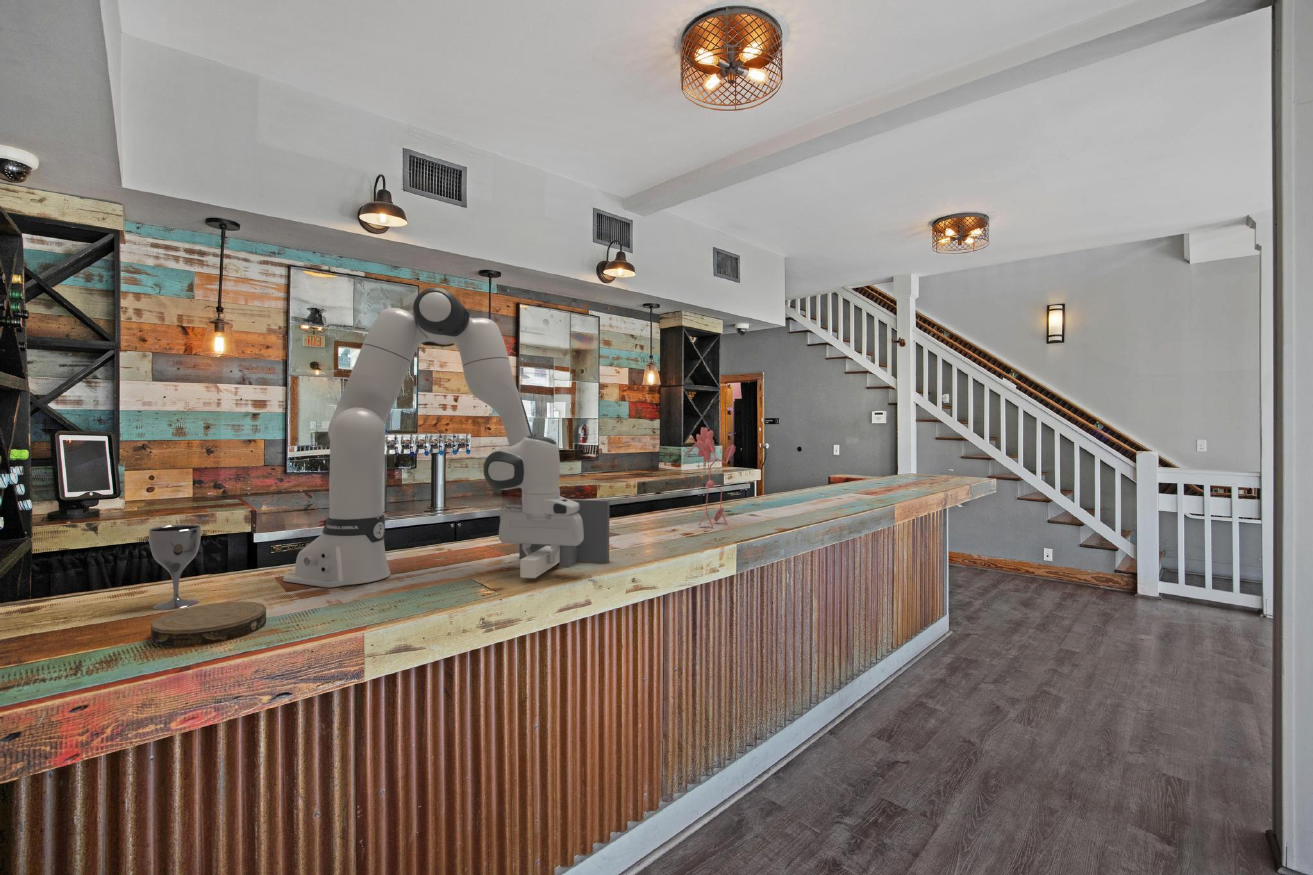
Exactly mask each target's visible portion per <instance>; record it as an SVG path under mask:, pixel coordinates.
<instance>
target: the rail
mask: <svg viewBox="0 0 1313 875" xmlns="http://www.w3.org/2000/svg"><path fill="white" fill-rule="evenodd" d="M552 551H553V550H552V549H551V546H545V547H543V548H541V549H539V550H537V551H535V552H534V553H532V554H530V555H528V556H526V557H524V558H522V559H520V560H519V564H520V565H519V573H520V575H519V577H520V578H523V579H525V578H526V579H536V578H537V577H539V576H541V575H542V574H544V573H545V572H547V571H549V570H550V569H553V567H555V566H556V565H557V564H559V562H560V548H559V550H558V552H557V553H556V555H555V563H553V564H547V556H548V555H551V553H552Z"/></svg>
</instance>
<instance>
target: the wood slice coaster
mask: <svg viewBox="0 0 1313 875" xmlns="http://www.w3.org/2000/svg"><path fill="white" fill-rule="evenodd" d="M266 623H267V606H266V605H264V604H263V603H260V602H254V601H242V600H241V601H224V602H215V603H207V604H202V605H196V606H194V605H193V606H189V607H185V608H180V609H178V610H177V609H176V610H175V611H174V610H173V611H171V612H168V613H165V614H163V615H160V616H158V617H157V618H154V620H152V622H150V640H151V639H152V640H151V642H152V641H153V642H152V644H153V643H155V644H154V645H156V644H158V645H157V646H159V645H161V646H160V647H164V646H165V647H166V648H167V647H168V648H187V646H192V647H196V646H195V645H200V646H209V645H214V644H219V643H223V642H229V641H233V640H235V639H239V638H243V637H246V636H249V635H250V634H254V633H256V632H258V631H260V630H261V629H262V628H264V627H265V626H266ZM259 629H260V630H259ZM206 644H207V645H206Z"/></svg>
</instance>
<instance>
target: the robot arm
mask: <svg viewBox="0 0 1313 875" xmlns="http://www.w3.org/2000/svg"><path fill="white" fill-rule="evenodd" d="M470 315H471V314H470V312H469V310H468V309H467V308H466V307H465V306H464V304H462V303H461V300H459V299H458V298H457V297H456V296H455V295H454V294H453V293H451V291H449V290H447V289H444V288H441V287H429V288H426V289H424V290H422V291H421V292H420V293H419V294H418V295H417V296H416V297H415V299H414V301H413V305H412V309H411V310H405V309H402V308H398V307H388V308H385V309H383V310H382V311H381V312H380V313H379V314H378V315H377V317H376V319H375V320H374V321H373V323H372V325H371V327H370V328H369V330H368V332H367V334H366V336H365V339H364V341H363V343H362V345H361V348H360V351H359V353H358V356H357V357H356V360H355V363H354V366H353V368H352V370H351V372H350V375H349V377H348V380H347V382H346V384H345V387H344V388H343V391H342V393H341V396H340V398H339V400H338V402H337V406H336V408H335V410H334V411H333V412H334V413H333V415H332V416H331V418H330V421H329V425H328V429H327V435H328V438H329V439H328V440H329V481H328V482H329V483H328V485H329V486H328V489H329V490H328V491H329V493H328V494H329V495H328V496H329V499H328V501H329V502H328V506H329V509H328V510H329V511H328V512H329V516H328V517H327V518H325V520H320V521H317V522H318V523H320V524H318V527H322V526H323V528H322V534H320V535H319V536H318V537H316V538H315V539H313V540H312V541H311V542H310V543H308V545H306V546H305V547H303V548H302V549H301V550H300V551H299V553H298V554H297V556H296V560H295V567H294V568H295V569H294V571H291V572H289V573H287V574H285V575H284V576H283V580H282V581H283V582H287V583H292V584H293V583H295V584H301V585H307V586H315V587H321V588H327V589H329V588H336V587H343V586H349V585H358V584H365V583H366V584H367V583H371V582H372V583H373V582H376V581H379V580H380V581H381V580H383V579H385V578H388V577H389V576H391V574H392V573H391V570H390V568H389V564H388V560H387V555H386V554H387V553H386V549H385V532H386V519H385V516H386V515H385V514H384V513H383V511H384V510H383V509H384V508H383V506H384V503H383V502H384V501H383V500H384V499H383V496H384V495H383V493H384V491H383V488H384V487H383V486H384V485H383V484H384V469H385V455H386V454H385V450H386V427H385V424H386V422H387V420H388V417H389V415H390V413H391V411H392V408H393V407H394V405H395V402H396V401H397V399H398V397H399V395H400V393H401V390H402V388H403V385H404V382H405V379H406V377H407V375H408V372H409V369H410V367H411V365H412V361H413V359H414V356H415V354H416V352H417V349H418V348H419V347H420V345H423V346H427V347H429V346H432V347H443V348H444V347H447V348H448V347H452V346H455V347H456V348H457V350H458V352H459V355H460V360H461V365H462V370H463V376H464V380H465V383H466V386H467V387H468V390H469V391H470V393H471V394H472V396H474V397H475V398H476V399H478V400H479V401H481V402H483V403H484V404H486V405H488V407H490V408H492V410H494V411H495V412H496V413H497V415H498V416H499V418H500V420H501V422H502V425H503V427H504V431H505V435H506V439H507V441H508V442H507V443H508V445H509V446H508V447H506V448H502V449H499V450H496V451H493V452H491V453H490V454H489V455H487V457H486V459H485V461H484V463H483V470H482V471H483V476H484V480H485V481H486V483H487V484H488V485H489V486H490V487H491V488H493V489H496V490H502V491H506V490H513V489H520V490H521V498H522V504H520V503H505V504H504V505H502V506H501V507H500V508H499V519H500V522H499V529H498V539H499V541H500V542H501V543H503V544H504V543H505V544H519V543H521V544H522V549H523V550H524V552H525V554H526V555H527V556H528V555H530V554H532V552H531V550H530V548H529V547H531V544H543V545H551V549H552V550H553V551H552V553H551V555H548V556H547V564H553V563H555V555H556V553H557V552H558V550H559V548H560V545H565V546H578V545H579V544H581V543H582V541H583V539H584V531H583V522H582V518H581V516H580V514H578V513H577V511H579V508H580V507H579V506H580V505H579V503H577V502H575V501H572V500H569V499H570V498H566V497H563V496H561V489H560V485H559V479H560V475H561V461H560V449H559V447H558V443H557V442H556V441H555V440H554V439H553V438H550V437H548V436H547V437H546V436H541V435H536V434H535V435H533V433H532V432H533V431H532V428H531V425H530V422H529V418H528V415H527V412H526V409H525V406H524V402H523V400H522V398H521V395H520V392H519V390H518V388H517V385H516V382H515V378H514V374H513V371H512V367H511V363H510V357H509V353H508V350H507V347H506V343H505V340H504V338H503V335H502V333H501V330H500V328H499V326H498V324H497V323H496V322H495V321H494V320H492V319H490V318H485V317H475V318H474V317H473V318H472V317H470Z"/></svg>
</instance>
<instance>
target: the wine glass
mask: <svg viewBox="0 0 1313 875" xmlns="http://www.w3.org/2000/svg"><path fill="white" fill-rule="evenodd" d="M201 536H202V526H201V525H200V524H172V525H165V526H158V527H153V528H149V530H148V539H149V540H148V541H149V548H150V552H151V554H152V557H153V559H154V560H155V562H156V563H157V564H159V565H160V566H162V567H163V568H164V569H165V570H166V571H167V572H168V573H169V575H170V577H171V580H172V588H173V597H172V598H171V599H169V600H167V601H163V602H160V603H157V604H155V605H153V606H152V609H153V610H157V611H159V610H160V611H169V610H177V608H179V609H185V608H188V607H193V606H194V605H193V604H195V605H197V604H198V603H199V602H200V601H199V600H198V599H196V598H181V597H180V595H179V590H180V589H179V587H180V586H179V585H180V579H181V576H182V573H183V571H184V570H185V569H186V567H187V566H188V565H189V564H190V563H191V561H193V560H194V559H195V557H196V556H197V554H198V551H199V549H200V544H201ZM187 606H188V607H187Z"/></svg>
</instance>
